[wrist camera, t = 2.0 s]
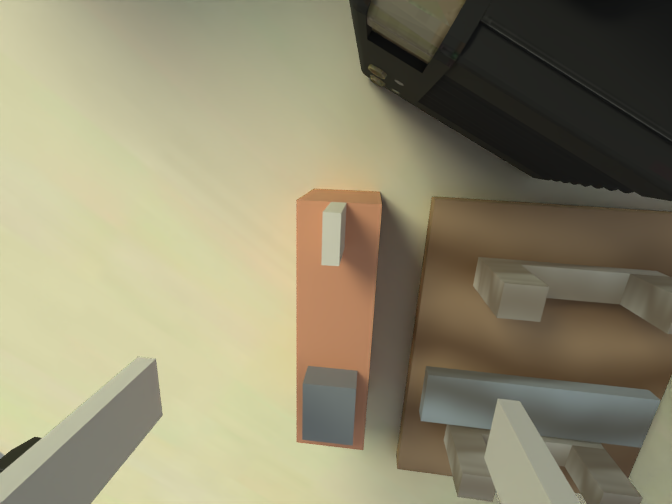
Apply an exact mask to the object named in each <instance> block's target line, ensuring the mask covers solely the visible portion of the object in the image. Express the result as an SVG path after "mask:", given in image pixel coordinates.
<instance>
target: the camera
mask: <svg viewBox="0 0 672 504" xmlns="http://www.w3.org/2000/svg"><path fill="white" fill-rule="evenodd" d="M349 2H350V7H351V13H352V19H353V24H354V30H355V36H356V42H357V47H358V53H359V59H360V64H361V69H362V72H363V73H364V74H365V75H366V76H368V77H369V78H371V79H370V80H371V81H372V82H374V83H375V84H377V85H379V86H381V87H382V86H384V87H386V88H387V89H389V90H390V91H392V92H394V93H395V94H397V95H399V96H400V97H402V98H403V99H405V100H407V101H408V102H410V103H412V104H413V105H414V106H416V107H418V108H419V109H421V110H423V111H424V112H426V113H428V114H429V115H431V116H433V117H434V118H436V119H438V120H439V121H441V122H442V123H444V124H446V125H447V126H449V127H451V128H452V129H454V130H456V131H457V132H459V133H461V134H462V135H464V136H466V137H467V138H469V139H470V140H472V141H474V142H475V143H477V144H479V145H480V146H482V147H484V148H485V149H487V150H489V151H490V152H492V153H494V154H495V155H497V156H499V157H500V158H502V159H503V160H505V161H507V162H508V163H510V164H512V165H513V166H515V167H517V168H518V169H520V170H522V171H523V172H525V173H527V174H528V175H530V176H531V177H533V178H538V179H544V180H551V179H552V180H553V181H562V182H563V183H568V182H570V183H572V184H574V185H576V184H581V185H583V186H585V187H586V186H590V185H591V186H593V187H595V188H603V187H605V188H606V189H608V190H610V191H614V190H617V189H619V190H620V191H622V192H624V193H631V192H636V193H638V194H639V195H641V196H644V197H650V198H656V199H662V200H668V201H672V0H349Z"/></svg>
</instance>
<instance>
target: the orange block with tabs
mask: <svg viewBox="0 0 672 504" xmlns="http://www.w3.org/2000/svg"><path fill="white" fill-rule="evenodd" d="M381 211H382V201H381V196H380V192H373V191H352V190H331V189H313V190H311V191H310V192H308V193H307V194H305V195H304V196H302V197H300V198H299V199H297V442H300V443H308V444H317V445H325V446H334V447H342V448H350V449H359V450H363V447H364V434H365V421H366V408H367V395H368V381H369V368H370V355H371V342H372V329H373V316H374V303H375V290H376V277H377V264H378V250H379V237H380V224H381Z"/></svg>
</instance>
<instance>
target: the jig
mask: <svg viewBox="0 0 672 504" xmlns="http://www.w3.org/2000/svg"><path fill="white" fill-rule="evenodd" d="M671 375H672V212H667V211H651V210H636V209H620V208H604V207H589V206H573V205H558V204H542V203H527V202H511V201H495V200H480V199H464V198H449V197H433V196H432V200H431V207H430V214H429V221H428V229H427V236H426V243H425V251H424V258H423V265H422V272H421V280H420V287H419V294H418V302H417V309H416V316H415V324H414V331H413V338H412V345H411V353H410V360H409V367H408V375H407V382H406V389H405V396H404V404H403V411H402V418H401V426H400V433H399V440H398V448H397V455H396V458H397V469H402V470H410V471H417V472H425V473H432V474H440V475H447V476H453V480H454V484H455V488H456V492H457V496H458V497H463V498H470V499H477V500H485V501H492V502H493V498H494V495H495V491H496V489H495V486H494V484H493V481H492V478H491V475H490V473H489V470H488V467H487V464H486V462H485V459H484V456H485V452H486V448H487V443H488V439H489V435H490V430H491V426H492V421H493V417H494V413H495V408H496V404H497V400H498V399H506V400H515V401H520V402H521V404H522V406H523V407H524V409H525V411H526V412H527V414H528V416H529V417H530V419H531V421H532V422H533V424H534V426H535V427H536V429H537V431H538V432H539V434H540V436H541V437H542V439H543V441H544V442H545V444H546V446H547V447H548V449H549V451H550V453H551V454H552V456H553V458H554V459H555V461H556V463H557V464H558V466H559V468H560V469H561V471H562V473H563V474H564V476H565V478H566V479H567V481H568V483H569V484H570V486H571V488H572V489H573V491H574V493H581V494H582V496H583V497H584V499H585V501H586V502H587V504H640V503H641V500H642V498H643V497H642V496H641V495H640V493H639V492H638V491H637V490H636V488H635V487H634V486H633V484H632V483H631V482H630V481H629V479H628V477H629V475H630V473H631V470H632V468H633V465H634V463H635V461H636V458H637V456H638V454H639V451H640V449H641V447H642V444H643V442H644V439H645V437H646V435H647V432H648V430H649V428H650V425H651V423H652V420H653V418H654V416H655V413H656V411H657V409H658V406H659V404H660V401H661V399H662V396H663V394H664V392H665V389H666V387H667V385H668V382H669V380H670V377H671Z"/></svg>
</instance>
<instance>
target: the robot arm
mask: <svg viewBox="0 0 672 504" xmlns="http://www.w3.org/2000/svg"><path fill="white" fill-rule="evenodd" d="M161 417H162V406H161V398H160V389H159V381H158V372H157V364H156V359H154V358H146V357H137V358H136V359H134V360H133V361H132V362H131V363H130V364H128V365H127V366H126V367H125V368H124V369H123V370H121V371H120V372H119V373H118V374H117V375H116V376H114V377H113V378H112V379H111V380H110V381H108V382H107V383H106V384H105V385H104V386H103V387H101V388H100V389H99V390H98V391H97V392H96V393H94V394H93V395H92V396H91V397H90V398H88V399H87V400H86V401H85V402H84V403H83V404H81V405H80V406H79V407H78V408H77V409H75V410H74V411H73V412H72V413H71V414H70V415H68V416H67V417H66V418H65V419H64V420H63V421H61V422H60V423H59V424H58V425H57V426H55V427H54V428H53V429H52V430H51V431H50V432H48V433H47V434H46V435H45V436H44V437H43V438H39V437H34V438H32V439H30V440H28V441H27V442H25V443H23V444H21V445H19V446H18V447H16V448H14V449H12V450H11V451H10V452H8V453H7V454H6V455H5V456H3V457H2V458H1V459H0V504H91V502H92V501H93V500H94V499H95V498H96V496H97V495H98V494H99V493H100V491H101V490H102V489H103V488H104V487H105V485H106V484H107V483H108V482H109V480H110V479H111V478H112V477H113V475H114V474H115V473H116V472H117V471H118V469H119V468H120V467H121V466H122V464H123V463H124V462H125V461H126V460H127V458H128V457H129V456H130V455H131V453H132V452H133V451H134V450H135V448H136V447H137V446H138V445H139V444H140V442H141V441H142V440H143V439H144V437H145V436H146V435H147V434H148V433H149V431H150V430H151V429H152V428H153V426H154V425H155V424H156V423H157V422H158V420H159V419H160V418H161ZM484 459H485V462H486V464H487V467H488V470H489V473H490V475H491V478H492V481H493V484H494V486H495V489H496V492H497V495H498V497H499V500H500V503H501V504H581V503H580V501H579V499H578V498H577V496H576V494H575V493H574V491H573V489H572V488H571V486H570V484H569V483H568V481H567V479H566V478H565V476H564V474H563V473H562V471H561V469H560V468H559V466H558V464H557V463H556V461H555V459H554V458H553V456H552V454H551V453H550V451H549V449H548V447H547V446H546V444H545V442H544V441H543V439H542V437H541V436H540V434H539V432H538V431H537V429H536V427H535V426H534V424H533V422H532V421H531V419H530V417H529V416H528V414H527V412H526V411H525V409H524V407H523V406H522V404H521V402H520V401H515V400H506V399H498V400H497V404H496V408H495V413H494V417H493V421H492V426H491V430H490V435H489V439H488V443H487V448H486V452H485V456H484Z"/></svg>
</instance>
